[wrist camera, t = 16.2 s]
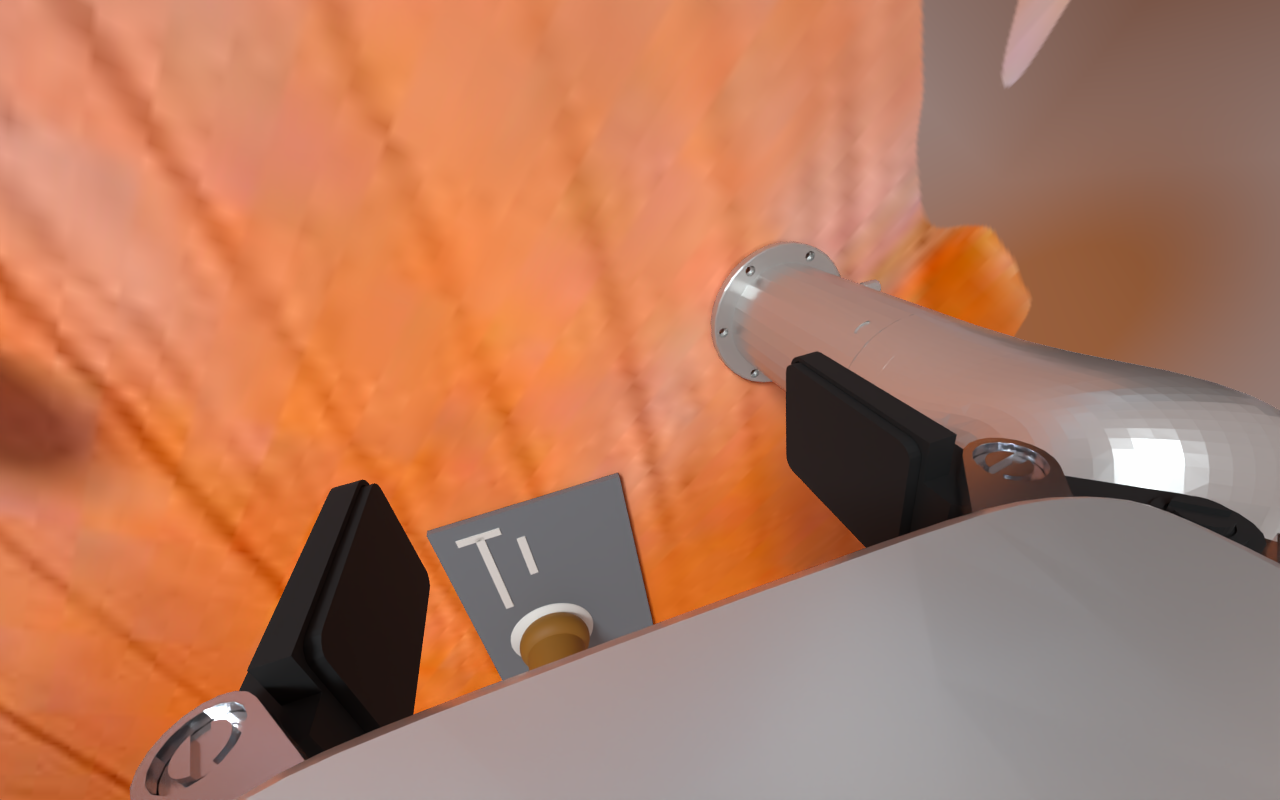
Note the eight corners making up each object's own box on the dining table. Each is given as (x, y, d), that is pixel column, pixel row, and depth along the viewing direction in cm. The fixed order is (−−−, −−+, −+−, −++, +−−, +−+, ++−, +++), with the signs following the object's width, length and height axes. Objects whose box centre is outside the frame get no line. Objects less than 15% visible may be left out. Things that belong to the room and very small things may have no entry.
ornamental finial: (563, 597, 51) (599, 629, 55) (504, 635, 51) (545, 665, 55) (574, 666, 44) (616, 698, 48) (507, 710, 44) (553, 738, 48)
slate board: (617, 472, 46) (619, 477, 46) (653, 627, 58) (655, 632, 58) (427, 531, 43) (426, 536, 43) (505, 681, 55) (505, 687, 55)
